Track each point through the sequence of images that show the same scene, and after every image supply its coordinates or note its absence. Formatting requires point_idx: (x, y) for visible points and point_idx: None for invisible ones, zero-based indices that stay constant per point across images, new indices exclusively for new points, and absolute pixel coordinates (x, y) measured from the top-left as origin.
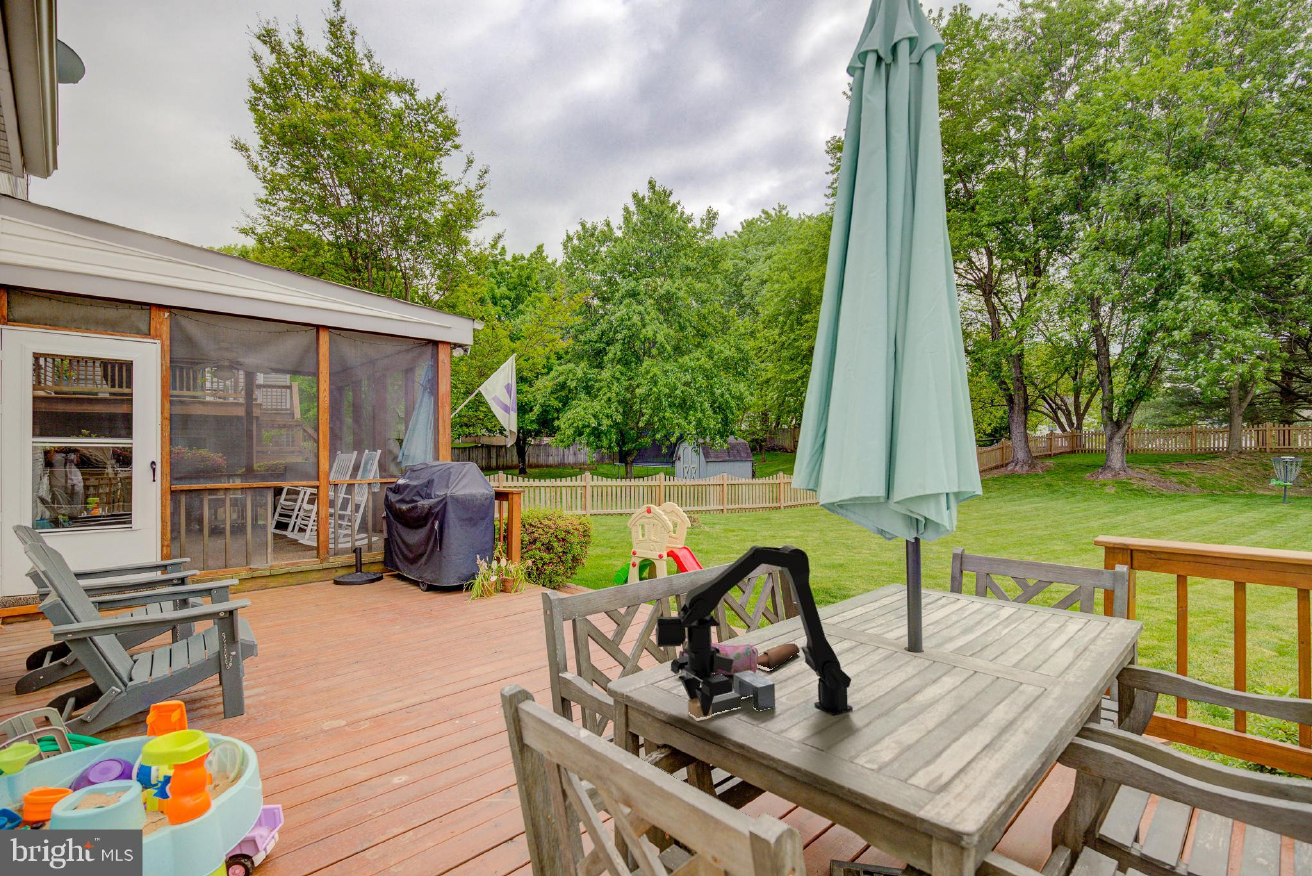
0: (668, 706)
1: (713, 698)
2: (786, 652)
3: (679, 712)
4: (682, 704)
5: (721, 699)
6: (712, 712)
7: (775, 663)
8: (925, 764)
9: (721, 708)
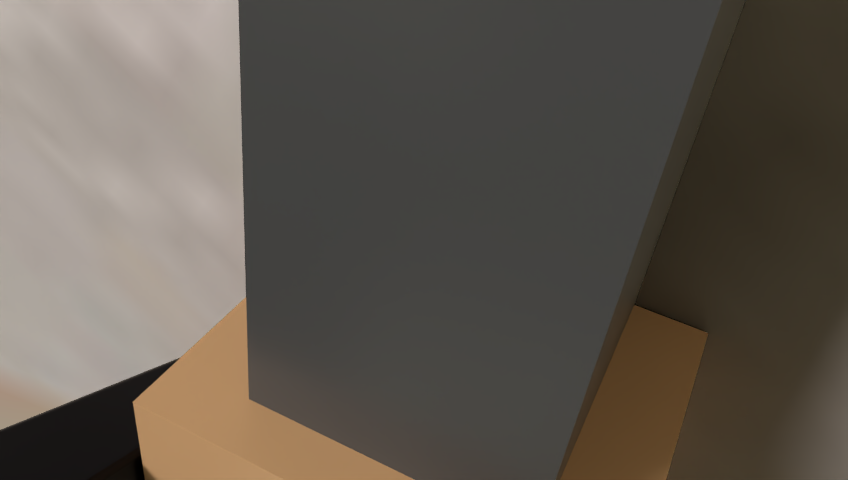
0: (13, 335)
1: (302, 168)
2: None
3: None
4: (5, 184)
5: (574, 33)
6: (632, 300)
7: None
8: None
9: (725, 36)
